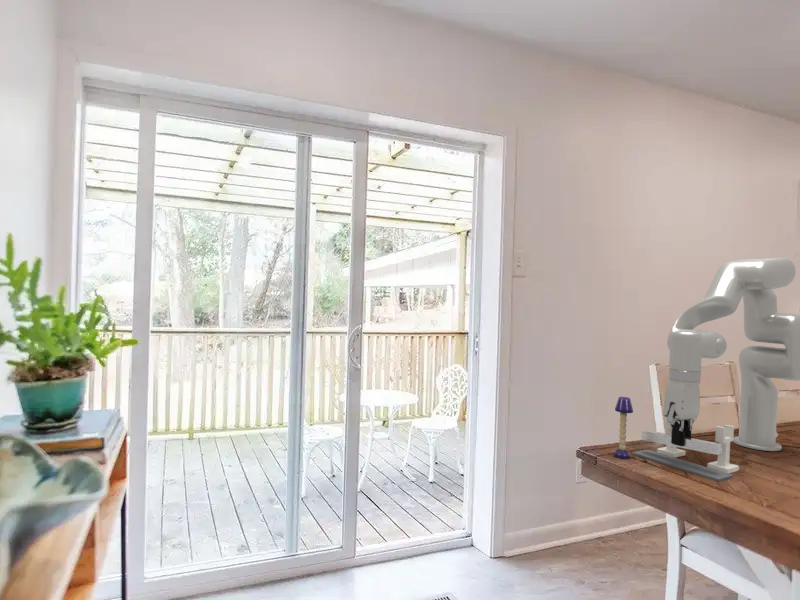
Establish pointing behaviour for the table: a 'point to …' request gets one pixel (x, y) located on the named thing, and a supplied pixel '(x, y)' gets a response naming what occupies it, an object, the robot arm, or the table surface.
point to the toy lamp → (623, 425)
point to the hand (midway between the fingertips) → (680, 443)
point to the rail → (688, 442)
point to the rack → (722, 436)
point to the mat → (684, 465)
